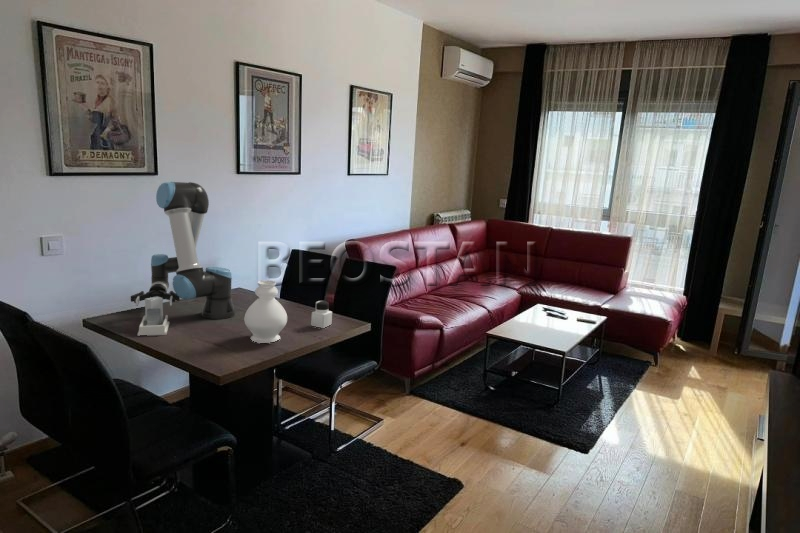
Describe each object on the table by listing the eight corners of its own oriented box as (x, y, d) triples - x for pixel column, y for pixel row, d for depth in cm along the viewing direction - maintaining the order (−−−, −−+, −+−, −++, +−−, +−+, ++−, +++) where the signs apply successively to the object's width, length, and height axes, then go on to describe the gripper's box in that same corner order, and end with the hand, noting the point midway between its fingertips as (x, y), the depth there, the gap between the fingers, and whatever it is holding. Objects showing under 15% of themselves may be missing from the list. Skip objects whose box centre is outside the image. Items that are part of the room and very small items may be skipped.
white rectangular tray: (169, 323, 240) (169, 314, 239) (166, 334, 225) (166, 325, 224) (142, 324, 236) (142, 315, 235) (137, 335, 221) (137, 326, 220)
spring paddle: (160, 326, 231) (160, 308, 230) (160, 327, 230) (160, 309, 229) (147, 326, 229) (147, 308, 228) (147, 327, 228) (146, 309, 227)
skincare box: (157, 322, 237) (157, 295, 235) (163, 324, 235) (163, 297, 233) (144, 325, 232) (144, 298, 230) (151, 327, 230) (150, 300, 227)
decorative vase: (264, 349, 217) (266, 289, 212) (235, 339, 226) (235, 281, 221) (295, 338, 232) (297, 282, 227) (265, 329, 241) (267, 275, 236)
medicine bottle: (331, 325, 253) (332, 301, 251) (323, 329, 247) (324, 304, 245) (319, 323, 256) (320, 298, 254) (310, 326, 250) (311, 301, 247)
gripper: (186, 298, 258) (184, 310, 238) (129, 299, 249) (122, 311, 230) (186, 283, 256) (184, 294, 237) (128, 283, 248) (121, 295, 228)
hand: (153, 302), depth 233 cm, fingers open, 13 cm apart
